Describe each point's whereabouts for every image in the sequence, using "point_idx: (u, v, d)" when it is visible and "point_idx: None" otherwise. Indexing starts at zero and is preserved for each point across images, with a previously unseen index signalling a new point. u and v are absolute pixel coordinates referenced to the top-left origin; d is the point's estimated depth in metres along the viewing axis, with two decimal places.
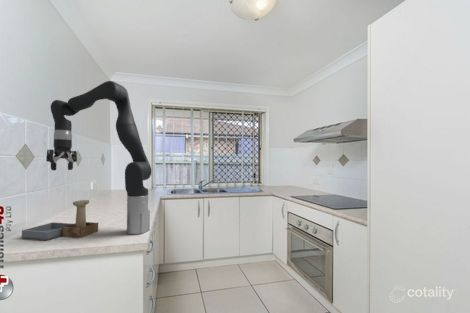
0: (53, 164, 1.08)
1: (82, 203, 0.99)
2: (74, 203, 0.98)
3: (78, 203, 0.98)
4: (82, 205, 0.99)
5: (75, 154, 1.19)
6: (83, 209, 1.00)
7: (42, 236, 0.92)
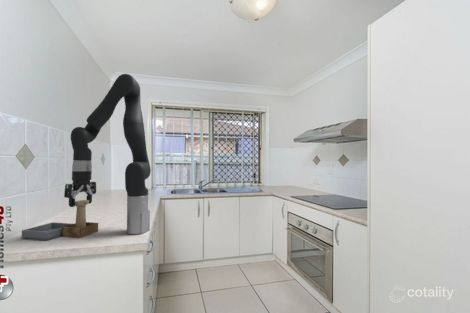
0: (71, 200, 0.96)
1: (82, 203, 0.99)
2: None
3: (78, 203, 0.98)
4: (82, 205, 0.99)
5: (94, 185, 1.07)
6: (83, 209, 1.00)
7: (42, 236, 0.92)
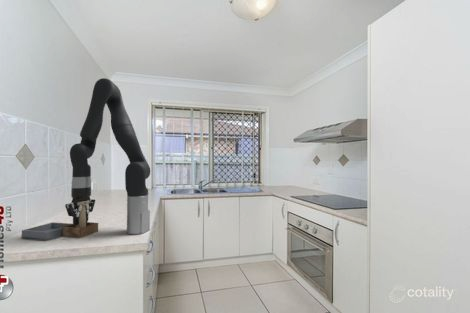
0: (75, 218, 0.97)
1: (82, 203, 0.99)
2: None
3: (78, 203, 0.98)
4: (82, 205, 0.99)
5: (93, 203, 1.06)
6: (83, 209, 1.00)
7: (42, 236, 0.92)
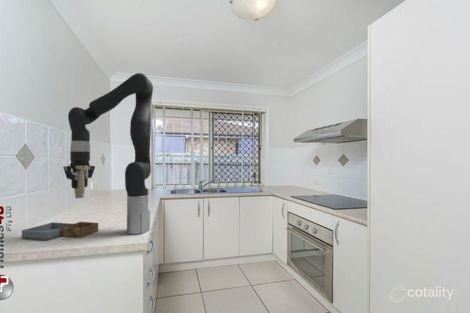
0: (74, 182, 0.98)
1: (80, 167, 0.99)
2: None
3: (76, 166, 0.98)
4: None
5: (92, 169, 1.06)
6: (82, 173, 1.00)
7: (42, 236, 0.92)
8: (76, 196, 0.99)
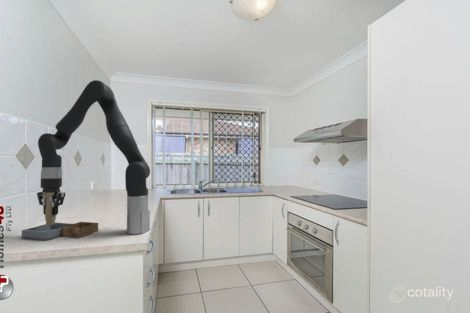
0: None
1: None
2: None
3: None
4: None
5: (58, 197, 0.97)
6: (47, 200, 0.98)
7: (42, 236, 0.92)
8: None
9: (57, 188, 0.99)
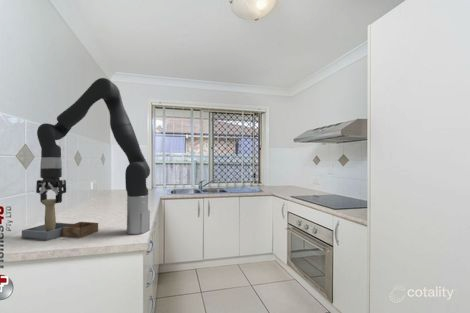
0: None
1: (42, 202, 0.97)
2: None
3: (42, 201, 0.98)
4: None
5: (59, 184, 0.97)
6: (45, 209, 0.97)
7: (42, 236, 0.92)
8: None
9: (57, 178, 0.99)
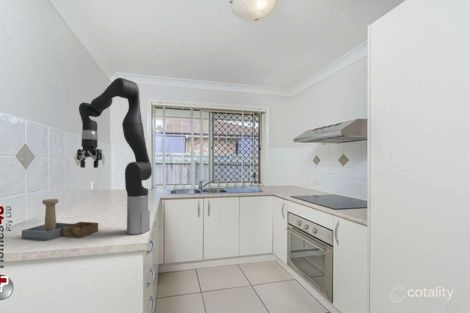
0: (80, 162, 1.22)
1: (43, 202, 0.97)
2: None
3: (42, 201, 0.98)
4: (44, 204, 0.98)
5: (97, 152, 1.19)
6: (46, 208, 0.98)
7: (42, 236, 0.92)
8: None
9: (95, 147, 1.21)
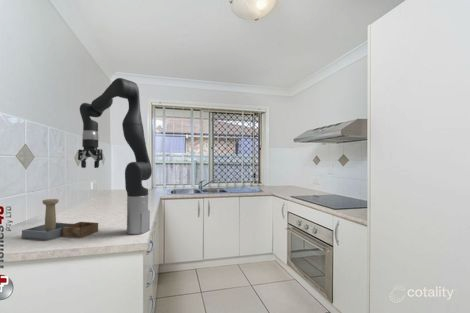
0: (81, 162, 1.22)
1: (43, 202, 0.97)
2: None
3: (43, 201, 0.98)
4: None
5: (97, 152, 1.19)
6: (46, 208, 0.98)
7: (42, 236, 0.92)
8: None
9: (95, 148, 1.21)
